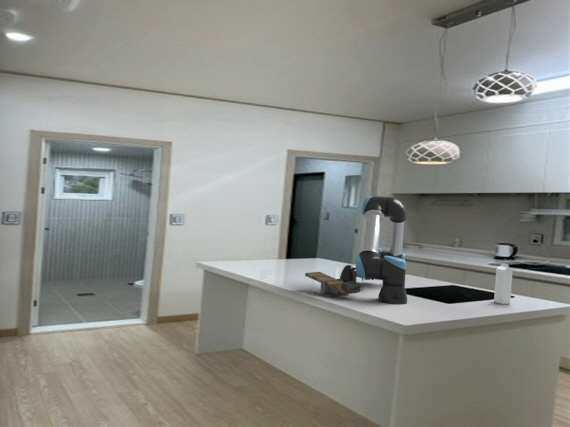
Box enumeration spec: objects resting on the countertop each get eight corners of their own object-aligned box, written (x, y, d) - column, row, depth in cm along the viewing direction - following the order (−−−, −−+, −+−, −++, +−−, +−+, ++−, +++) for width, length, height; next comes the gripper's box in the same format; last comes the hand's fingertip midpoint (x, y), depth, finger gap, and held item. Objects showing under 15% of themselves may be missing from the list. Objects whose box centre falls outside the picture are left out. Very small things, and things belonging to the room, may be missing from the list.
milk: (501, 304, 262) (504, 264, 261) (493, 301, 267) (496, 262, 267) (510, 304, 263) (513, 264, 263) (502, 301, 269) (505, 262, 269)
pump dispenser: (351, 293, 266) (352, 266, 266) (335, 290, 272) (336, 264, 272) (359, 291, 274) (361, 265, 274) (344, 288, 280) (345, 263, 280)
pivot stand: (348, 295, 261) (349, 280, 261) (330, 298, 250) (331, 282, 250) (331, 291, 269) (332, 277, 269) (313, 293, 259) (314, 279, 258)
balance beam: (360, 292, 253) (361, 284, 253) (346, 294, 245) (348, 286, 244) (319, 274, 274) (320, 266, 274) (304, 275, 266) (306, 267, 265)
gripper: (386, 282, 288) (371, 286, 270) (349, 276, 302) (332, 280, 285) (386, 270, 288) (371, 273, 270) (350, 264, 302) (333, 267, 285)
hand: (351, 276), depth 277 cm, fingers open, 13 cm apart
